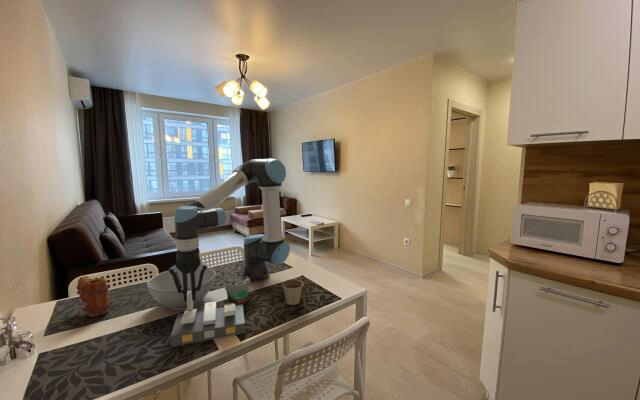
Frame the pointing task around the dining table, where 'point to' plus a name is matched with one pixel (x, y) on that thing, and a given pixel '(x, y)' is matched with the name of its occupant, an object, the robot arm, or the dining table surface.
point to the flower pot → (292, 291)
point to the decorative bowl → (167, 292)
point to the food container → (238, 292)
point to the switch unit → (208, 327)
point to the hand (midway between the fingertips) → (190, 308)
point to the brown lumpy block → (94, 295)
